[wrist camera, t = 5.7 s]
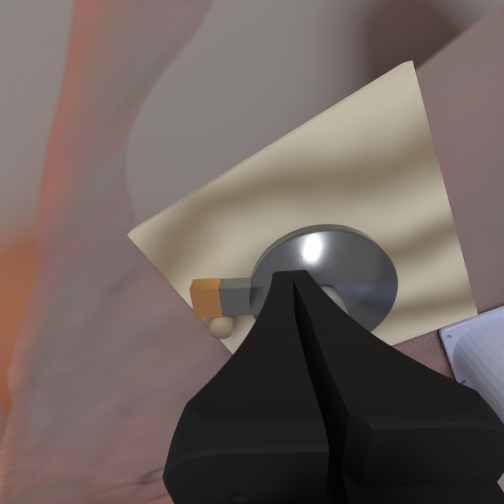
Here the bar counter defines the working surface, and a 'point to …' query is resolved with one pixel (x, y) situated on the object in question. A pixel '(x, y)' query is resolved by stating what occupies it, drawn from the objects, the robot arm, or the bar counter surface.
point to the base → (329, 209)
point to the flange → (319, 267)
